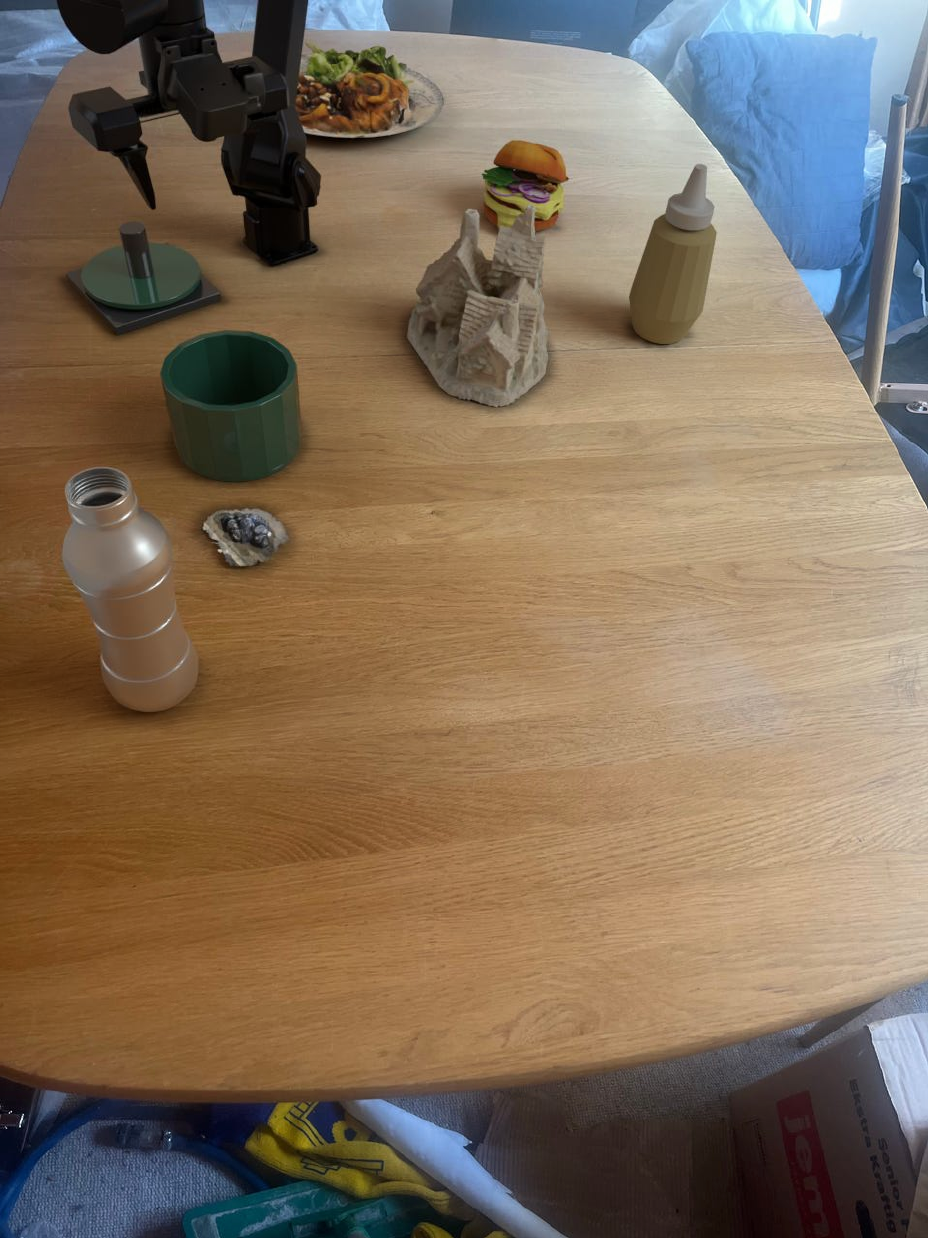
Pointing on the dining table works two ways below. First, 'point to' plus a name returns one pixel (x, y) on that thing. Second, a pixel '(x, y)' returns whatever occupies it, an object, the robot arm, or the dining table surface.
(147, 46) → the robot arm
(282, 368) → the pot
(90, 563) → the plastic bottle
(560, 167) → the cheeseburger
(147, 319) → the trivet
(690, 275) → the squeeze bottle
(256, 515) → the grey lumpy flat piece
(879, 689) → the dining table surface
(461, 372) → the ceramic cottage
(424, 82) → the plate of food
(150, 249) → the pot lid
